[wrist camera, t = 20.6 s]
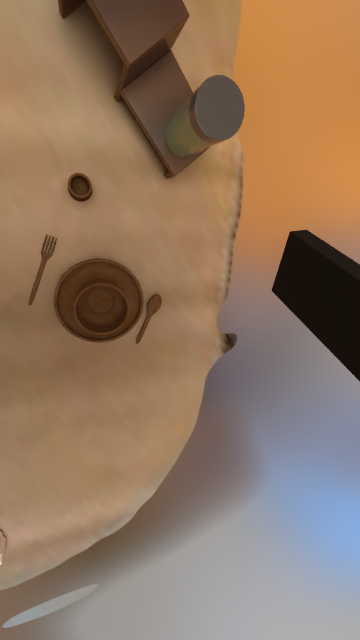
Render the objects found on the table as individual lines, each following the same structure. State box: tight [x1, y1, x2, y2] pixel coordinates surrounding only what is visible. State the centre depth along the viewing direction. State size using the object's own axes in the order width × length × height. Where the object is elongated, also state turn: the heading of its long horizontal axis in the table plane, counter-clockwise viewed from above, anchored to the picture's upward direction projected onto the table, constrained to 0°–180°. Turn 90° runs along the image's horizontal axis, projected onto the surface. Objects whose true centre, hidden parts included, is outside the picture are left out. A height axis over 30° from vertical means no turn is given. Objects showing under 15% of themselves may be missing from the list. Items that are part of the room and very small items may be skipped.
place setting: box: [29, 173, 161, 344], centre depth 38 cm, size 18×20×6 cm
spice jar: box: [165, 75, 244, 158], centre depth 29 cm, size 5×5×10 cm
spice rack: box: [58, 0, 210, 179], centre depth 29 cm, size 19×7×11 cm, turn 36°
